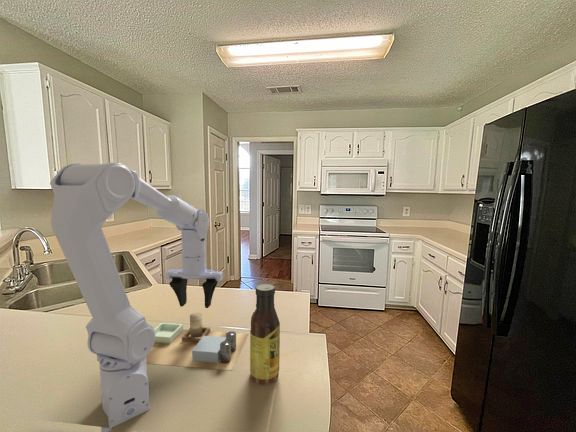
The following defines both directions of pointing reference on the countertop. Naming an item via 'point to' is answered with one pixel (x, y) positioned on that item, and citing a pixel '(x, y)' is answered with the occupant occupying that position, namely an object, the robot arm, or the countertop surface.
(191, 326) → the beech dowel
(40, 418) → the countertop surface
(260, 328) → the sauce bottle
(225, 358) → the bench dogs
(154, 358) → the bench board
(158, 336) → the sage tray
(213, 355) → the slate block
